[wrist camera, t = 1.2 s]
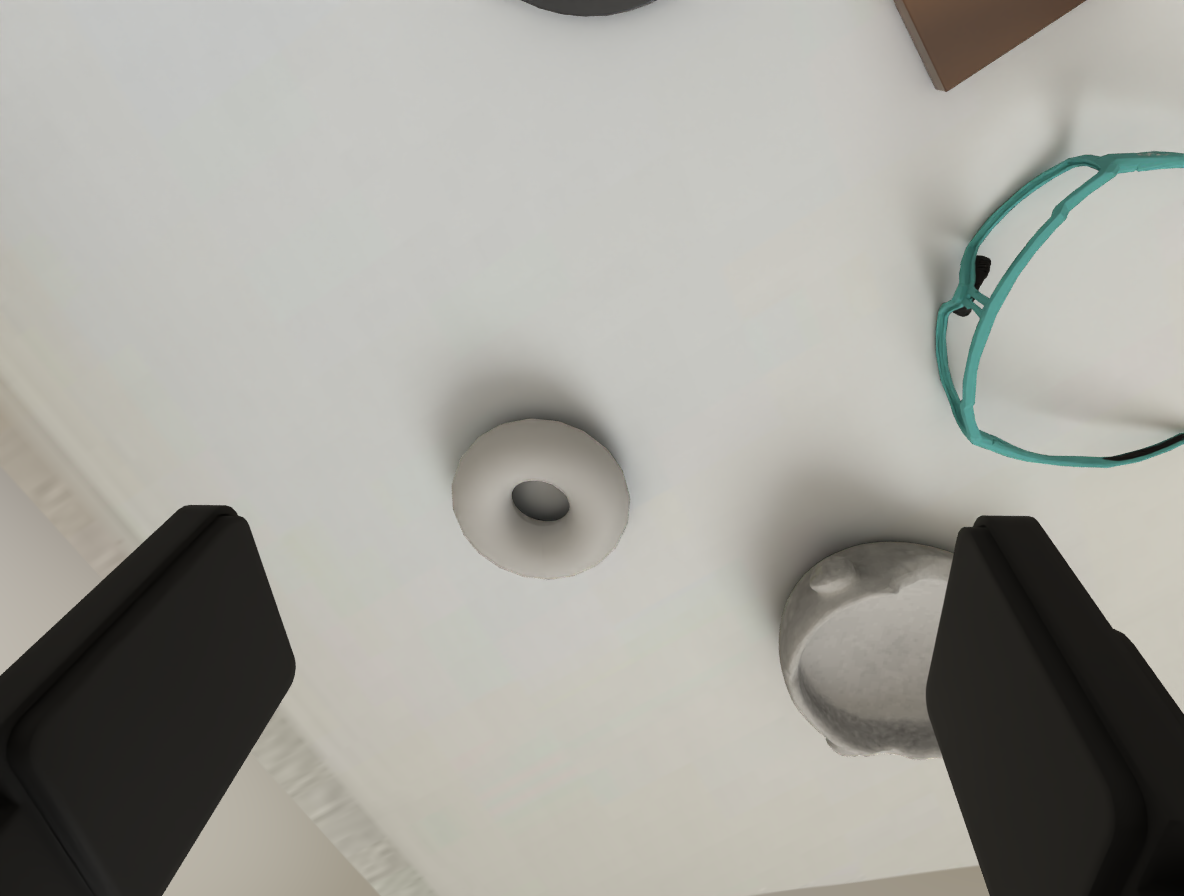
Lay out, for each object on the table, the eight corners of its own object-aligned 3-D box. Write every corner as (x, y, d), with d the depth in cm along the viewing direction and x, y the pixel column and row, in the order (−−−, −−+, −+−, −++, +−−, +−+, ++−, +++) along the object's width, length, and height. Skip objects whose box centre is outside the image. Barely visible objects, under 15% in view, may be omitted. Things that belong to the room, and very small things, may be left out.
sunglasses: (1003, 112, 31) (1066, 128, 27) (1329, 181, 32) (1440, 207, 28) (878, 407, 38) (912, 458, 34) (1150, 456, 39) (1216, 510, 35)
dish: (778, 526, 42) (787, 582, 38) (1042, 526, 40) (1083, 585, 36) (771, 707, 49) (778, 772, 45) (995, 715, 47) (1025, 783, 43)
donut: (588, 381, 40) (428, 441, 42) (581, 410, 37) (409, 471, 39) (658, 528, 44) (508, 574, 46) (656, 564, 41) (496, 611, 43)
